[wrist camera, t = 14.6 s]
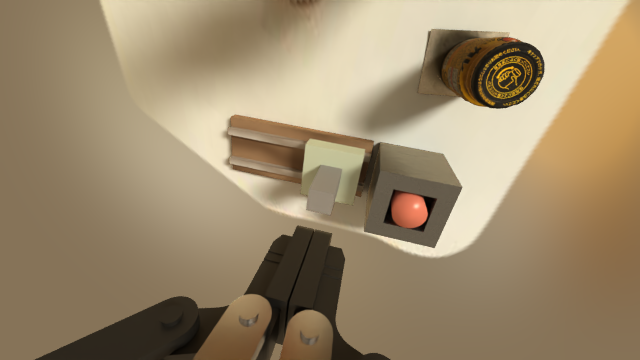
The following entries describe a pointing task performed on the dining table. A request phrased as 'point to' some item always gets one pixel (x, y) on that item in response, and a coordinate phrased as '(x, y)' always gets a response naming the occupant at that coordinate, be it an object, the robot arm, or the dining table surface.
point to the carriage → (330, 174)
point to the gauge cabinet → (414, 177)
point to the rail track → (282, 148)
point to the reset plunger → (408, 209)
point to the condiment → (481, 67)
